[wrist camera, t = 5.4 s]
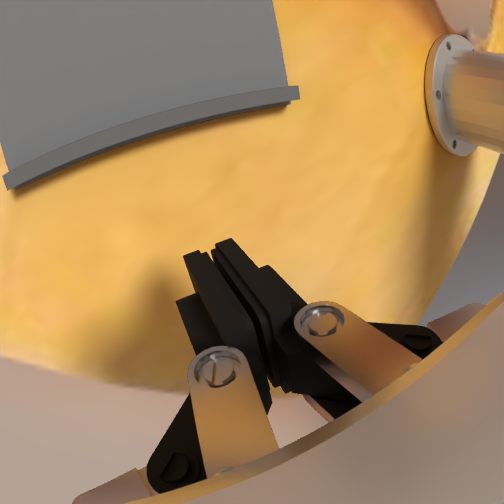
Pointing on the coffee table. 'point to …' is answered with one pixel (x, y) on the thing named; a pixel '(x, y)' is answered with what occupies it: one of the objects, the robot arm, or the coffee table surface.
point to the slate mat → (127, 74)
